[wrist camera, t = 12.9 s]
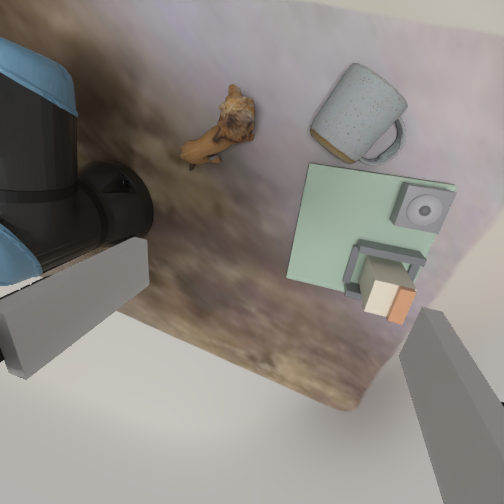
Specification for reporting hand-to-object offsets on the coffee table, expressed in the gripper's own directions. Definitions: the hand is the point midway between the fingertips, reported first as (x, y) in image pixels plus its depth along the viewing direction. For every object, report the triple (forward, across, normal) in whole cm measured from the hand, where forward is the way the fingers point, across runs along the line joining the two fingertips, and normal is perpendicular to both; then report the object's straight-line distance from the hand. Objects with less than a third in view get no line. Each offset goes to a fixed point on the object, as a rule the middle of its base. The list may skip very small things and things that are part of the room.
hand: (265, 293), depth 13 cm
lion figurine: (+29, -14, +6) cm, 33 cm away
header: (+28, +12, -9) cm, 31 cm away
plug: (+27, +12, -9) cm, 31 cm away
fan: (+28, +14, +1) cm, 31 cm away
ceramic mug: (+29, +4, +9) cm, 31 cm away
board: (+29, +8, -5) cm, 30 cm away
